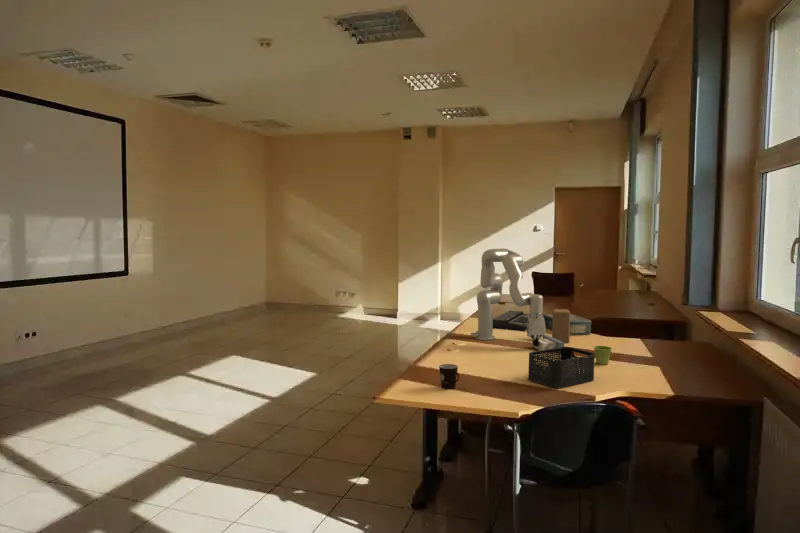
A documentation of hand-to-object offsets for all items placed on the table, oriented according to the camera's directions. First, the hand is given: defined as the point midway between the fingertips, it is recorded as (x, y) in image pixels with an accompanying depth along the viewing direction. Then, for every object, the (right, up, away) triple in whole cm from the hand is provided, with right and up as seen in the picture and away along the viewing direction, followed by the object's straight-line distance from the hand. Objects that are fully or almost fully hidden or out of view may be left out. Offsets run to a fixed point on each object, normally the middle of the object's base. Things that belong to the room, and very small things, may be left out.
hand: (535, 345), depth 323 cm
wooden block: (+22, -1, +22) cm, 31 cm away
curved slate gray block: (+11, -2, +3) cm, 12 cm away
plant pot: (+28, -5, -31) cm, 42 cm away
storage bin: (-3, -8, -60) cm, 61 cm away
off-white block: (+6, -2, +2) cm, 6 cm away
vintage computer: (+5, +4, +78) cm, 79 cm away
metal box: (+35, +2, +56) cm, 66 cm away
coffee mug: (-58, -9, -74) cm, 94 cm away
